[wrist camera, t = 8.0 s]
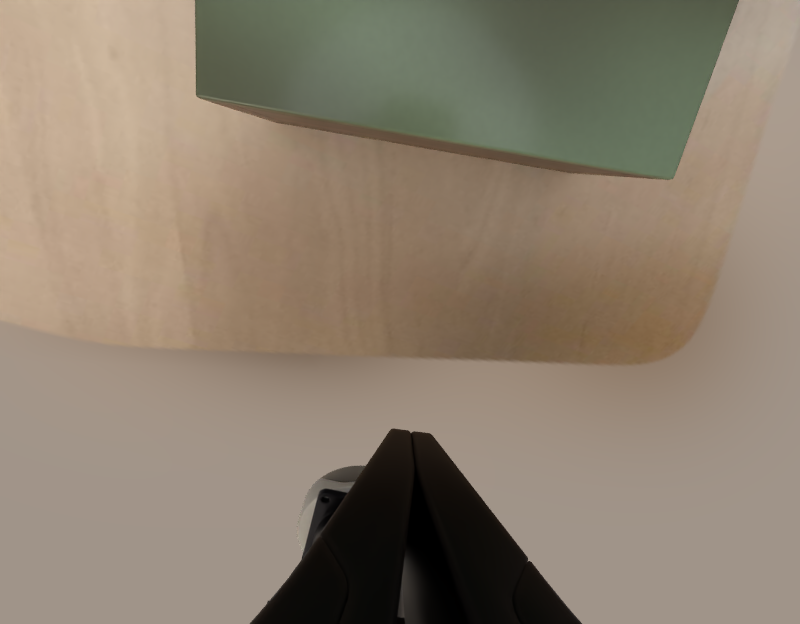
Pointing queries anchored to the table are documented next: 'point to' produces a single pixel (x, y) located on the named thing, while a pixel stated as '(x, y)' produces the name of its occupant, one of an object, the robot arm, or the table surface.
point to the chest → (426, 143)
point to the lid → (477, 71)
